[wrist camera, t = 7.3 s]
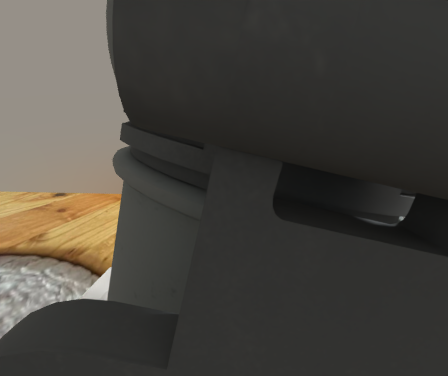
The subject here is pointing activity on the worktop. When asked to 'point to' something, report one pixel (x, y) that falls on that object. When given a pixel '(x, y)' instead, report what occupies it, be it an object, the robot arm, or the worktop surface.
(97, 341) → the water bottle
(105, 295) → the robot arm
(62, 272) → the worktop surface
